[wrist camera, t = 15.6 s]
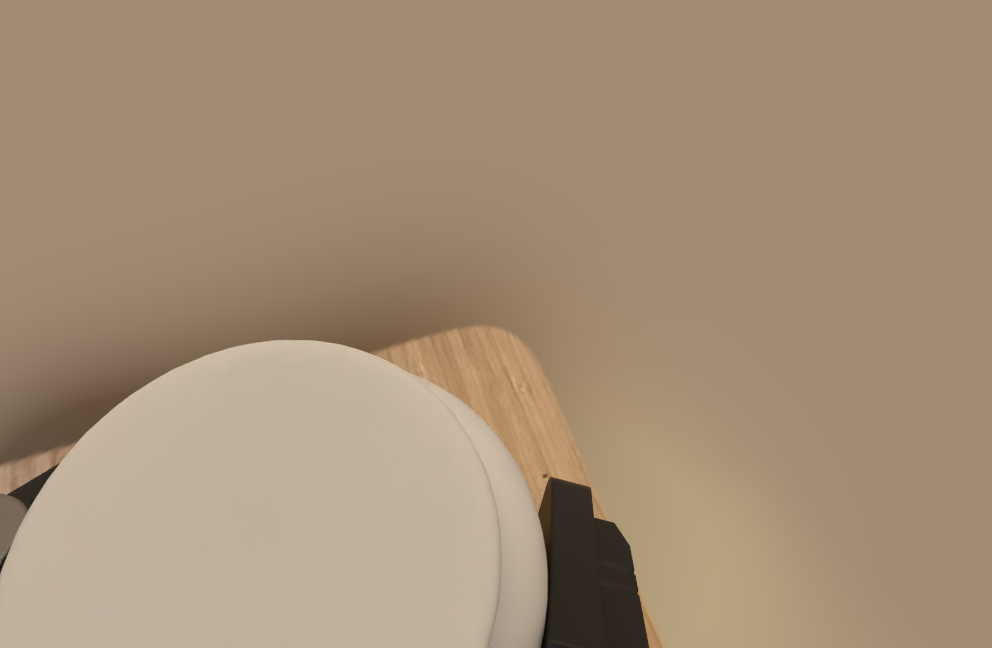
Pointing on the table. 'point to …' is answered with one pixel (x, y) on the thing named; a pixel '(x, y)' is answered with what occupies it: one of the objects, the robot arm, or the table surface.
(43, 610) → the supplement bottle
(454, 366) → the table surface
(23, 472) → the table surface
